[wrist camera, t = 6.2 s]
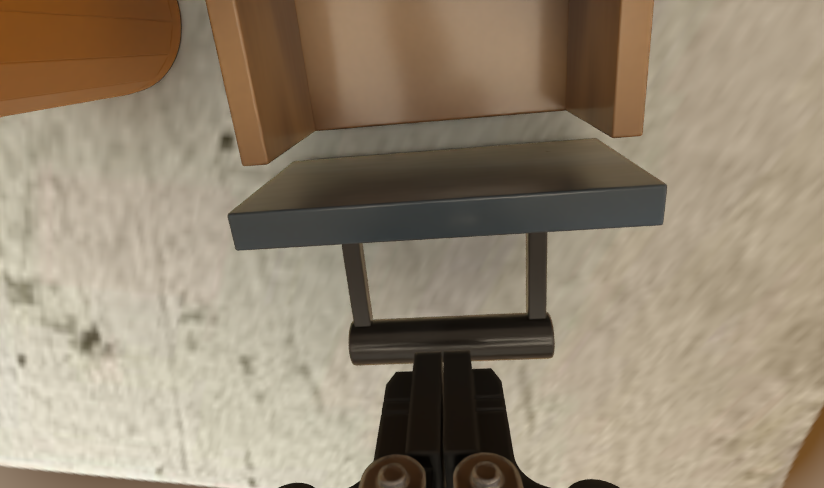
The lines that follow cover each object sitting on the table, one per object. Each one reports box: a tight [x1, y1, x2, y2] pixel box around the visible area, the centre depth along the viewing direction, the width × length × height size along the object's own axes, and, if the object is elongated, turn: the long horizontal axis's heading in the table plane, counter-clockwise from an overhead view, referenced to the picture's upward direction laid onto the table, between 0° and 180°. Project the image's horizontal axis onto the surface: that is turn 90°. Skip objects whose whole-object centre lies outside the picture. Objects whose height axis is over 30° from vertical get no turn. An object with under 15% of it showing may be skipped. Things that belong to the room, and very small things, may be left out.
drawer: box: [205, 0, 667, 366], centre depth 16 cm, size 20×12×7 cm, turn 5°
